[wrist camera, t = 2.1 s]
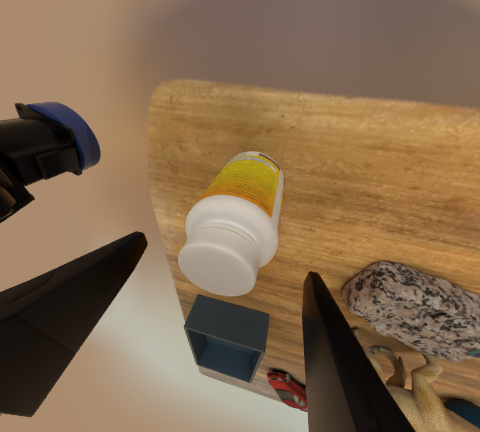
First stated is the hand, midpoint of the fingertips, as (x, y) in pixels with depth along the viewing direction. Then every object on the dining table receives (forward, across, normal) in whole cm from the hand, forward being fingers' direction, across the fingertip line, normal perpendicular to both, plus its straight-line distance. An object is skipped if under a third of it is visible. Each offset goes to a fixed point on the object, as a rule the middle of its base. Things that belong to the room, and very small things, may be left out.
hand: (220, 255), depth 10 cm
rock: (+9, -18, +11) cm, 23 cm away
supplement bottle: (+9, 0, 0) cm, 9 cm away
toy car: (+9, -17, +57) cm, 60 cm away
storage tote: (+9, +1, +35) cm, 36 cm away
